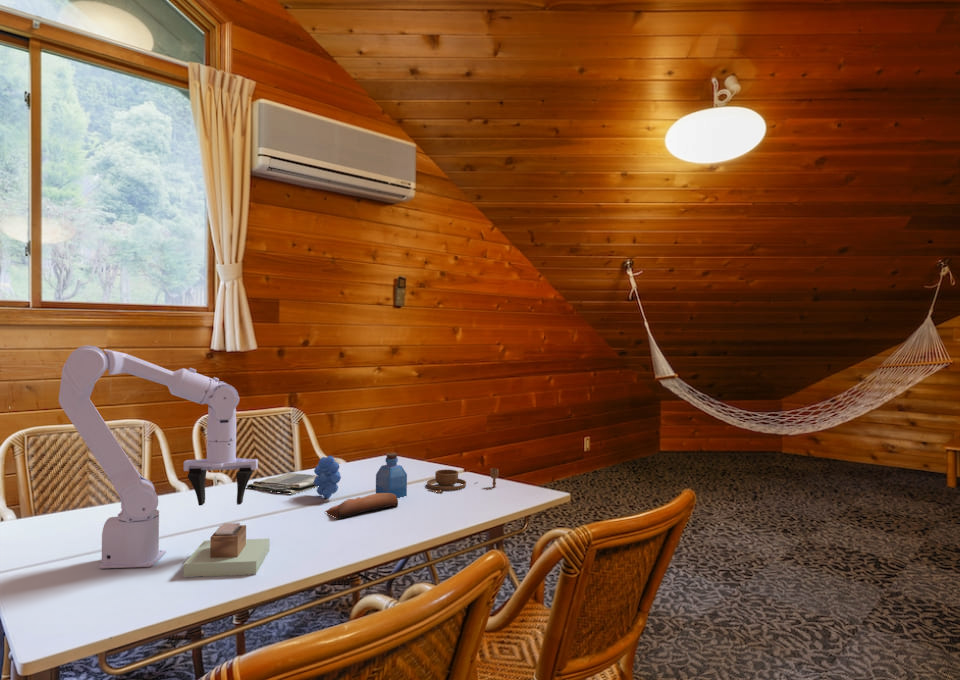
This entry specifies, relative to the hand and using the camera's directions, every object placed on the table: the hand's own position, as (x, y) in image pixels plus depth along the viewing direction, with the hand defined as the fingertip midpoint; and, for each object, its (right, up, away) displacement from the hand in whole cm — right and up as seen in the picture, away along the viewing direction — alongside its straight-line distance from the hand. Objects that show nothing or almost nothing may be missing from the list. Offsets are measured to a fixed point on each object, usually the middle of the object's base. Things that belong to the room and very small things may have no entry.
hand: (220, 503), depth 130 cm
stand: (+5, -10, -8) cm, 14 cm away
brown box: (+5, -7, -9) cm, 12 cm away
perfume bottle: (+30, -10, +44) cm, 54 cm away
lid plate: (+5, -4, -9) cm, 11 cm away
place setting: (+48, -11, +55) cm, 74 cm away
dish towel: (-2, -10, +54) cm, 55 cm away
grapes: (+13, -10, +41) cm, 44 cm away
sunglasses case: (+24, -10, +30) cm, 40 cm away
